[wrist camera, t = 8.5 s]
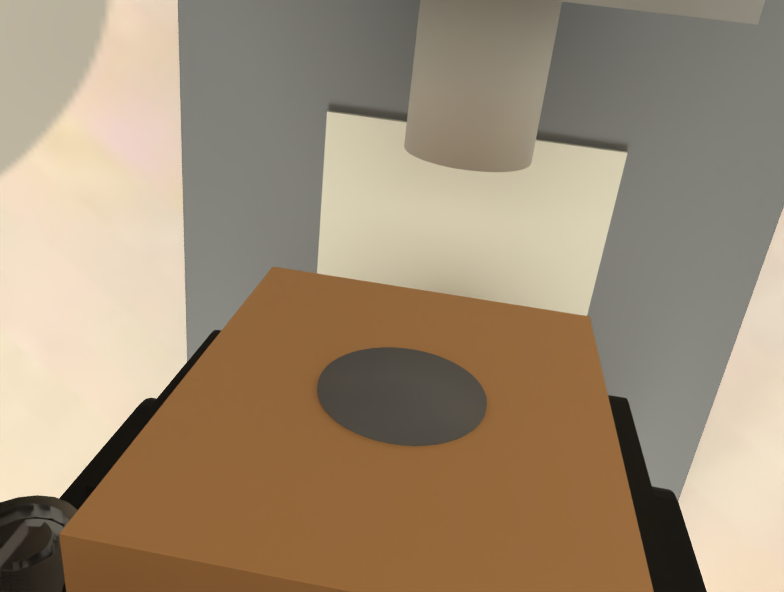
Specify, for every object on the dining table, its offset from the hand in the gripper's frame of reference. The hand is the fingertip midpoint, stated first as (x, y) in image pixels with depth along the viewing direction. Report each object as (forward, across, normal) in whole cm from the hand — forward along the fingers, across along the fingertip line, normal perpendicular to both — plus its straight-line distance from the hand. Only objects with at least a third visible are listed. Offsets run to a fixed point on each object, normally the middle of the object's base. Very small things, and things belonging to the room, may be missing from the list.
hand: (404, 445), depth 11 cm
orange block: (+1, 0, 0) cm, 1 cm away
